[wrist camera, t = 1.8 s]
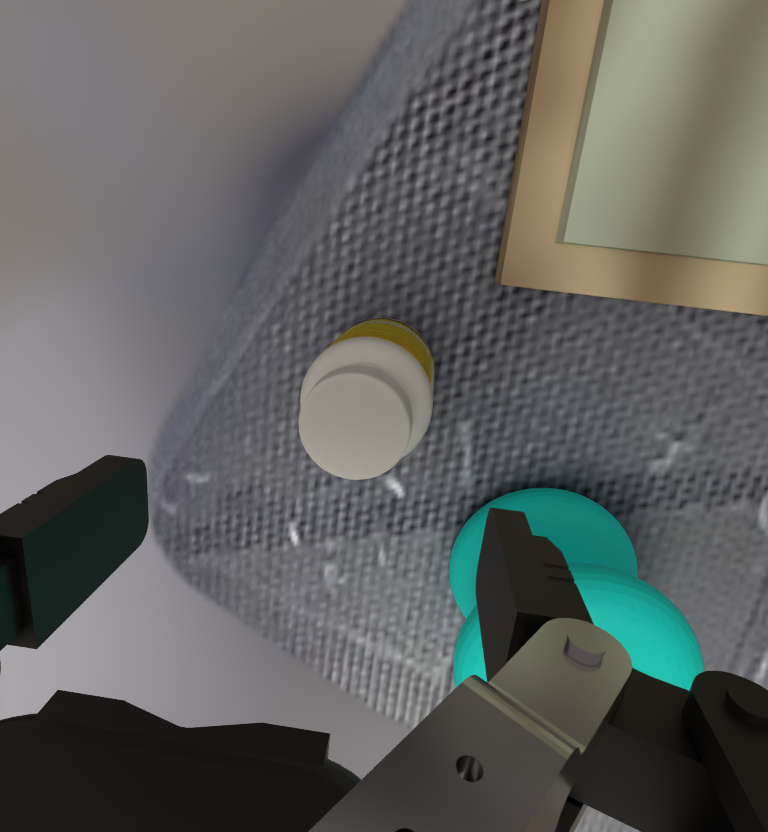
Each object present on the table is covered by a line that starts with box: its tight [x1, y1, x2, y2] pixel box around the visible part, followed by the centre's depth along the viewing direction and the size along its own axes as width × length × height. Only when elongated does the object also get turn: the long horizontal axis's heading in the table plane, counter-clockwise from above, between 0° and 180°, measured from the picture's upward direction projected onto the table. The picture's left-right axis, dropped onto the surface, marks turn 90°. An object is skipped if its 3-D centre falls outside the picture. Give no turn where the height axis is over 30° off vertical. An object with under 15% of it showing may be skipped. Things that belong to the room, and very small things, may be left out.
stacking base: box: [494, 0, 768, 316], centre depth 21 cm, size 14×14×4 cm
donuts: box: [449, 488, 704, 690], centre depth 25 cm, size 10×10×10 cm
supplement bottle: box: [299, 318, 434, 480], centre depth 22 cm, size 5×5×10 cm
